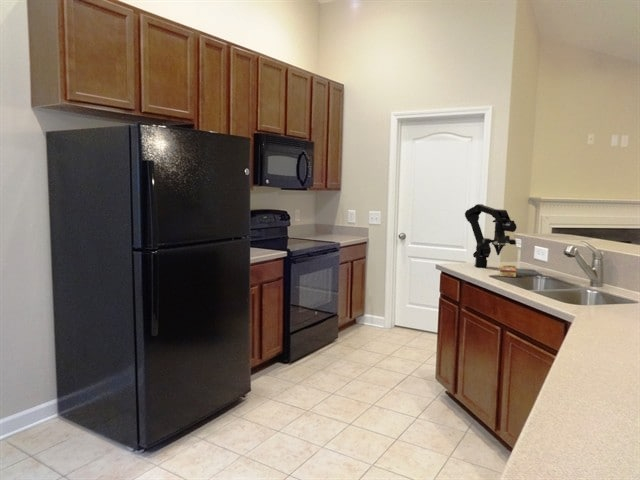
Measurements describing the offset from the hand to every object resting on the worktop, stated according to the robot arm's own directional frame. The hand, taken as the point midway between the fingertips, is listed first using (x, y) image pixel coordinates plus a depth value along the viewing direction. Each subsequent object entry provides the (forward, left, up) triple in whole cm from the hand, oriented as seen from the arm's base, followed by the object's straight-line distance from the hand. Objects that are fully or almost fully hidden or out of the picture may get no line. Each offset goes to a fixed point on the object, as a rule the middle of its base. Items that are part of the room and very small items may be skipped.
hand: (498, 255), depth 292 cm
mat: (+17, 0, -10) cm, 20 cm away
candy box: (+6, -2, -8) cm, 10 cm away
